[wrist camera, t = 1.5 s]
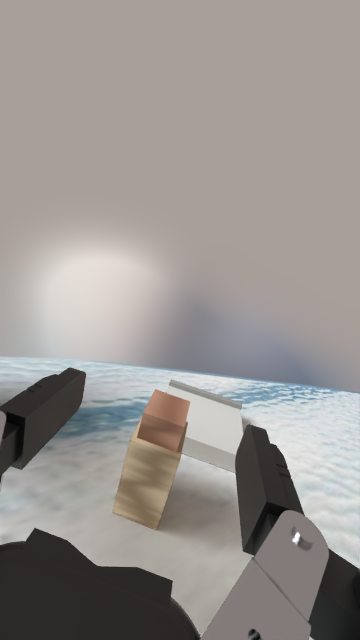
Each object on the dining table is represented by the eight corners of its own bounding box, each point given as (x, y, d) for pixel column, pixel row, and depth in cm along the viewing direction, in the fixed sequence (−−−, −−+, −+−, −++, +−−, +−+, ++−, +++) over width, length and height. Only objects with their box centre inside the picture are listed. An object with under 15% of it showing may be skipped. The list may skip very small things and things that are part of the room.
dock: (147, 440, 35) (153, 420, 34) (166, 395, 46) (170, 379, 45) (239, 474, 33) (247, 454, 32) (235, 419, 45) (241, 403, 44)
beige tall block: (112, 512, 25) (136, 414, 21) (130, 471, 29) (152, 385, 26) (156, 530, 24) (188, 432, 20) (167, 485, 29) (195, 400, 25)
